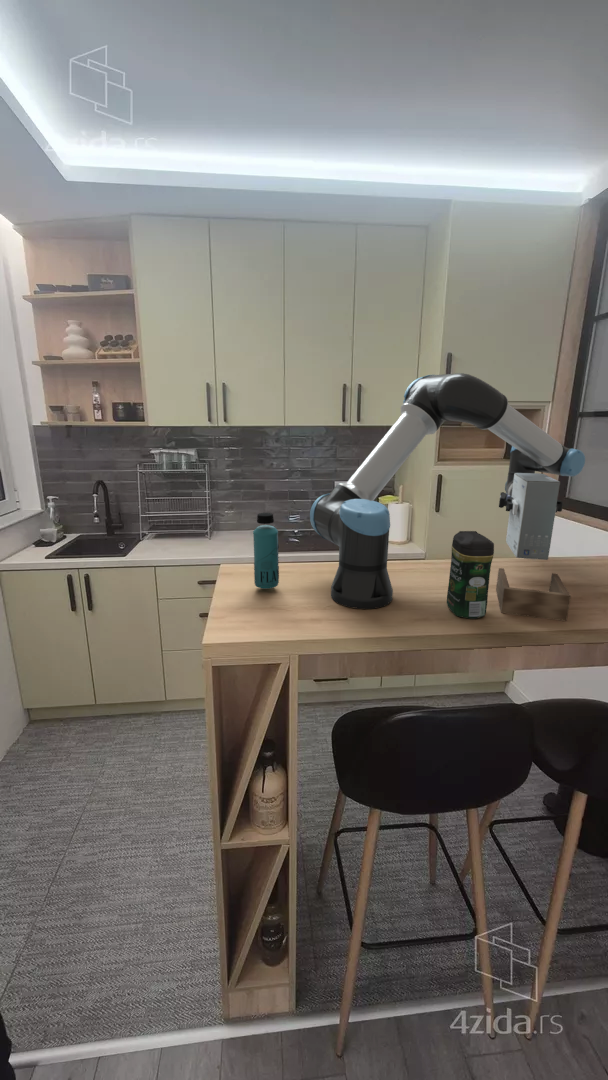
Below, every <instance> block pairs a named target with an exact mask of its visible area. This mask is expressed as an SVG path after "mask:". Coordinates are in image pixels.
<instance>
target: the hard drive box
mask: <svg viewBox="0 0 608 1080" xmlns="http://www.w3.org/2000/svg"><path fill="white" fill-rule="evenodd" d="M560 485H561V481H559V480H557V479H555V478H553V477H551V476H548V475H547V474H546V473H545V474H544V473H541V472H540V473H539V472H538V473H537V472H535V473H514V481H513V489H512V497H513V499H514V500H516V502H517V503H518V509H517V515H513V513H512V511H511V510H510V511H509V514H508V521H507V522H508V523H507V529H506V530H507V531H506V537H505V539H506V540H505V542H506V544H507V546H508V547H509V549H510V550H511V552H512V553H513V556H514V557H515V558H518V559H528V560H531V559H532V560H544V561H545V560H546V561H548V560H549V555H550V549H551V543H552V538H553V537H552V536H553V530H554V524H555V518H556V513H555V511H556V505H557V499H558V498H559V491H560Z"/></svg>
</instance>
